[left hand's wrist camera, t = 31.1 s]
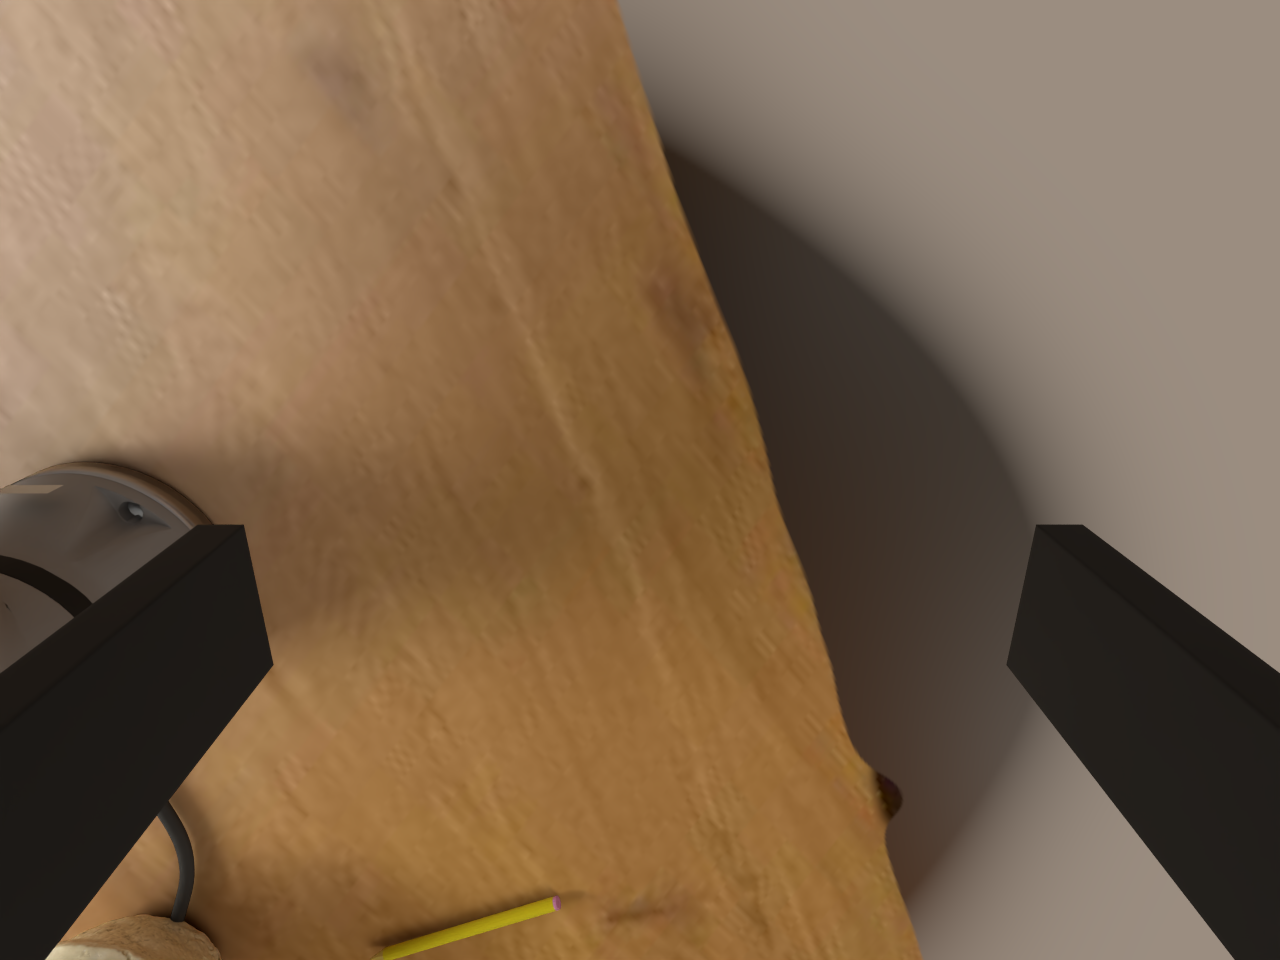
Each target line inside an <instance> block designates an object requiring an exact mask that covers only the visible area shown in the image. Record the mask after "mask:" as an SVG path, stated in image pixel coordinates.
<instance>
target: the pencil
mask: <svg viewBox="0 0 1280 960" xmlns="http://www.w3.org/2000/svg"><path fill="white" fill-rule="evenodd" d="M560 908H561V902H560V898H559V897H558V896H553V897H550V898H546V899H543V900H540V901H537V902H533V903H530V904H527V905H523V906H520V907H517V908H513V909H510V910H507V911H504V912H500V913H497V914H494V915H490V916H487V917H484V918H481V919H477V920H474V921H471V922H467V923H464V924H461V925H457V926H454V927H451V928H448V929H444V930H441V931H438V932H434V933H431V934H428V935H425V936H421V937H418V938H415V939H411V940H408V941H405V942H401V943H398V944H395V945H392V946H388V947H385V948H384V949H383V950H381V951H380V952H379V953H377V954H376V955H375V956H374V957H372V958H371V960H393V959H397V958H400V957H403V956H407V955H410V954H413V953H417V952H420V951H423V950H427V949H430V948H433V947H437V946H440V945H443V944H447V943H450V942H453V941H457V940H460V939H463V938H467V937H470V936H473V935H477V934H480V933H483V932H487V931H490V930H493V929H497V928H500V927H503V926H507V925H510V924H513V923H517V922H520V921H523V920H527V919H530V918H533V917H537V916H540V915H543V914H547V913H550V912H553V911H557V910H560Z"/></svg>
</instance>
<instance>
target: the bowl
mask: <svg viewBox="0 0 1280 960" xmlns="http://www.w3.org/2000/svg"><path fill="white" fill-rule="evenodd" d="M220 956H221V955H220V952H219V950H218V949H217V948H216V947H215V946H214V945H213V943H211V941H210V940H209V938H208V937H207V936H206V935H205V933H203V932H201V931H199V930H197V929H195V928H194V927H192V926H191V925H189V924H187V923H186V922H184V921H183V922H173V921H171V919H170V918H166V917H157V916H155V917H154V916H151V915H149V914H142V915H135V916H128V917H124V918H120V919H117V920H112V921H109V922H106V923H104V924H102V925H99V926H97V927H95V928H92V929H90V930H87V931H85V932H83V933H81V934H79V935H77V936H76V937H74V938H72V939H70V940H68V941H63V942H59V943H58V944H57V945H56V946H55V948H54V949H53V950H52V952H51V953H50V954H49V956H48V957H47V958H46V959H45V960H222V959H221V957H220Z"/></svg>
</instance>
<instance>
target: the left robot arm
mask: <svg viewBox="0 0 1280 960" xmlns="http://www.w3.org/2000/svg"><path fill="white" fill-rule="evenodd" d="M272 666H273V660H272V656H271V651H270V646H269V642H268V637H267V632H266V627H265V623H264V618H263V613H262V609H261V604H260V599H259V594H258V590H257V585H256V580H255V576H254V571H253V566H252V561H251V557H250V552H249V547H248V543H247V538H246V533H245V528H244V525H213V524H212V523H211V522H210V521H209V520H208V519H207V518H206V516H205V515H204V514H203V513H202V512H201V511H200V510H199V509H198V508H197V507H196V506H194V505H193V504H192V503H191V502H190V501H189V500H187V499H186V498H185V497H184V496H182V495H181V494H179V493H178V492H177V491H175V490H174V489H172V488H170V487H169V486H167V485H165V484H164V483H162V482H160V481H158V480H156V479H154V478H152V477H150V476H147V475H145V474H143V473H140V472H137V471H134V470H131V469H128V468H125V467H121V466H116V465H112V464H105V463H95V462H74V463H66V464H61V465H56V466H52V467H49V468H46V469H43V470H41V471H39V472H37V473H34V474H32V475H30V476H28V477H26V478H24V479H21V480H19V481H17V482H15V483H13V484H11V485H8V486H6V487H4V488H2V489H0V960H45V959H46V958H47V957H48V956H49V954H50V953H51V952H52V950H53V949H54V948H55V946H56V945H57V944H58V943H59V941H60V940H61V939H62V937H63V936H64V935H65V934H66V932H67V931H68V930H69V928H70V927H71V926H72V925H73V923H74V922H75V921H76V919H77V918H78V917H79V915H80V914H81V913H82V912H83V910H84V909H85V908H86V906H87V905H88V904H89V903H90V901H91V900H92V899H93V897H94V896H95V895H96V894H97V892H98V891H99V890H100V888H101V887H102V886H103V884H104V883H105V882H106V881H107V879H108V878H109V877H110V875H111V874H112V873H113V872H114V870H115V869H116V868H117V866H118V865H119V864H120V863H121V861H122V860H123V859H124V857H125V856H126V855H127V853H128V852H129V851H130V850H131V848H132V847H133V846H134V844H135V843H136V842H137V841H138V839H139V838H140V837H141V835H142V834H143V833H144V831H145V830H146V829H147V828H148V826H149V825H150V824H151V822H152V821H153V820H154V819H155V817H156V816H158V818H159V819H160V821H161V822H162V824H163V825H164V827H165V829H166V830H167V832H168V834H169V836H170V838H171V840H172V842H173V844H174V847H175V850H176V853H177V857H178V861H179V869H180V879H179V887H178V891H177V895H176V899H175V903H174V906H173V910H172V914H171V918H170V919H171V921H173V922H183V921H184V919H185V915H186V911H187V908H188V904H189V901H190V897H191V894H192V889H193V884H194V857H193V851H192V847H191V843H190V840H189V837H188V835H187V832H186V830H185V828H184V826H183V824H182V822H181V820H180V819H179V817H178V815H177V814H176V812H175V811H174V809H173V808H172V806H171V804H170V803H169V801H168V800H169V799H170V798H171V797H172V795H173V794H174V793H175V791H176V790H177V789H178V788H179V786H180V785H181V784H182V782H183V781H184V780H185V779H186V777H187V776H188V775H189V773H190V772H191V771H192V769H193V768H194V767H195V766H196V764H197V763H198V762H199V760H200V759H201V758H202V757H203V755H204V754H205V753H206V751H207V750H208V749H209V748H210V746H211V745H212V744H213V742H214V741H215V740H216V738H217V737H218V736H219V735H220V733H221V732H222V731H223V729H224V728H225V727H226V726H227V724H228V723H229V722H230V720H231V719H232V718H233V716H234V715H235V714H236V713H237V711H238V710H239V709H240V707H241V706H242V705H243V704H244V702H245V701H246V700H247V698H248V697H249V696H250V695H251V693H252V692H253V691H254V689H255V688H256V687H257V685H258V684H259V683H260V682H261V680H262V679H263V678H264V676H265V675H266V674H267V673H268V671H269V670H270V669H271V667H272ZM1007 666H1008V667H1009V669H1010V670H1011V671H1012V673H1013V674H1014V675H1015V676H1016V678H1017V679H1018V680H1019V682H1020V683H1021V684H1022V685H1023V687H1024V688H1025V689H1026V691H1027V692H1028V693H1029V695H1030V696H1031V697H1032V698H1033V700H1034V701H1035V702H1036V704H1037V705H1038V706H1039V707H1040V709H1041V710H1042V711H1043V713H1044V714H1045V715H1046V716H1047V718H1048V719H1049V720H1050V722H1051V723H1052V724H1053V726H1054V727H1055V728H1056V729H1057V731H1058V732H1059V733H1060V734H1061V736H1062V737H1063V738H1064V740H1065V741H1066V742H1067V744H1068V745H1069V746H1070V748H1071V749H1072V750H1073V751H1074V753H1075V754H1076V755H1077V757H1078V758H1079V759H1080V760H1081V762H1082V763H1083V764H1084V765H1085V767H1086V768H1087V769H1088V771H1089V772H1090V773H1091V775H1092V776H1093V777H1094V778H1095V780H1096V781H1097V782H1098V784H1099V785H1100V786H1101V787H1102V789H1103V790H1104V791H1105V793H1106V794H1107V795H1108V797H1109V798H1110V799H1111V800H1112V802H1113V803H1114V804H1115V806H1116V807H1117V808H1118V809H1119V811H1120V812H1121V813H1122V815H1123V816H1124V817H1125V819H1126V820H1127V821H1128V822H1129V824H1130V825H1131V826H1132V828H1133V829H1134V830H1135V831H1136V833H1137V834H1138V835H1139V837H1140V838H1141V839H1142V840H1143V842H1144V843H1145V844H1146V846H1147V847H1148V848H1149V850H1150V851H1151V852H1152V853H1153V855H1154V856H1155V857H1156V859H1157V860H1158V861H1159V863H1160V864H1161V865H1162V866H1163V868H1164V869H1165V870H1166V871H1167V873H1168V874H1169V875H1170V877H1171V878H1172V879H1173V881H1174V882H1175V883H1176V884H1177V886H1178V887H1179V888H1180V890H1181V891H1182V892H1183V894H1184V895H1185V896H1186V897H1187V899H1188V900H1189V901H1190V903H1191V904H1192V905H1193V906H1194V908H1195V909H1196V910H1197V912H1198V913H1199V914H1200V915H1201V917H1202V918H1203V919H1204V921H1205V922H1206V923H1207V925H1208V926H1209V927H1210V928H1211V930H1212V931H1213V932H1214V934H1215V935H1216V936H1217V937H1218V939H1219V940H1220V941H1221V943H1222V944H1223V945H1224V946H1225V948H1226V949H1227V950H1228V952H1229V953H1230V954H1231V955H1232V957H1233V958H1234V959H1235V960H1280V673H1279V672H1277V671H1276V670H1275V669H1273V668H1272V667H1271V666H1269V665H1268V664H1267V663H1265V662H1264V661H1263V660H1261V659H1260V658H1259V657H1257V656H1256V655H1255V654H1253V653H1252V652H1251V651H1249V650H1248V649H1247V648H1246V647H1244V646H1243V645H1241V644H1240V643H1239V642H1238V641H1236V640H1235V639H1234V638H1232V637H1231V636H1230V635H1228V634H1227V633H1226V632H1224V631H1223V630H1222V629H1220V628H1219V627H1218V626H1216V625H1215V624H1214V623H1212V622H1211V621H1210V620H1208V619H1207V618H1206V617H1204V616H1203V615H1202V614H1200V613H1199V612H1198V611H1196V610H1195V609H1194V608H1192V607H1191V606H1190V605H1188V604H1187V603H1186V602H1184V601H1183V600H1182V599H1180V598H1179V597H1178V596H1177V595H1175V594H1174V593H1173V592H1171V591H1170V590H1169V589H1167V588H1166V587H1165V586H1163V585H1162V584H1161V583H1159V582H1158V581H1157V580H1155V579H1154V578H1153V577H1151V576H1150V575H1148V574H1147V573H1146V572H1145V571H1143V570H1142V569H1141V568H1139V567H1138V566H1137V565H1135V564H1134V563H1133V562H1131V561H1130V560H1129V559H1127V558H1126V557H1125V556H1123V555H1122V554H1121V553H1119V552H1118V551H1117V550H1115V549H1114V548H1113V547H1111V546H1110V545H1109V544H1108V543H1106V542H1105V541H1103V540H1102V539H1101V538H1100V537H1098V536H1097V535H1096V534H1094V533H1093V532H1092V531H1090V530H1089V529H1088V528H1086V527H1085V526H1084V525H1036V528H1035V533H1034V538H1033V543H1032V547H1031V552H1030V557H1029V562H1028V566H1027V571H1026V576H1025V580H1024V585H1023V590H1022V594H1021V599H1020V604H1019V609H1018V613H1017V618H1016V623H1015V627H1014V632H1013V637H1012V641H1011V646H1010V651H1009V656H1008V660H1007Z"/></svg>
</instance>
